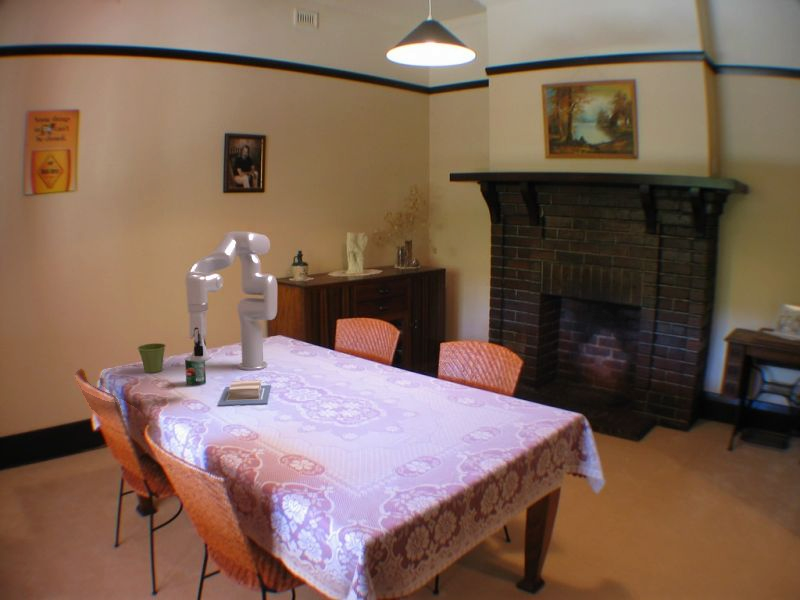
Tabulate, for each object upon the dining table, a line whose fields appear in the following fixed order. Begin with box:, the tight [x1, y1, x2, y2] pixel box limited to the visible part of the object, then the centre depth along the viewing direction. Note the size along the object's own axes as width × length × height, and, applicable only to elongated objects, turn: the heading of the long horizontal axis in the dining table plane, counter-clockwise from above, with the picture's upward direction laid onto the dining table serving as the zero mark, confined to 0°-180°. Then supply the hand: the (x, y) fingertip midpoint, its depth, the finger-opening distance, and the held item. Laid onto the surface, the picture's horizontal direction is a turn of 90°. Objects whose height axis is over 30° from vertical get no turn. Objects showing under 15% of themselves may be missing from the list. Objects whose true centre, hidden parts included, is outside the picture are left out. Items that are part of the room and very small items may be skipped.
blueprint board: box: [217, 384, 272, 407], centre depth 253 cm, size 22×18×1 cm
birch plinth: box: [229, 379, 262, 400], centre depth 252 cm, size 11×11×4 cm
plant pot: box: [136, 342, 167, 374], centre depth 285 cm, size 12×12×11 cm
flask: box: [190, 336, 212, 362], centre depth 249 cm, size 7×7×10 cm
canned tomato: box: [184, 355, 207, 387], centre depth 267 cm, size 8×8×11 cm
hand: (200, 353), depth 250 cm, fingers closed on flask, 5 cm apart
